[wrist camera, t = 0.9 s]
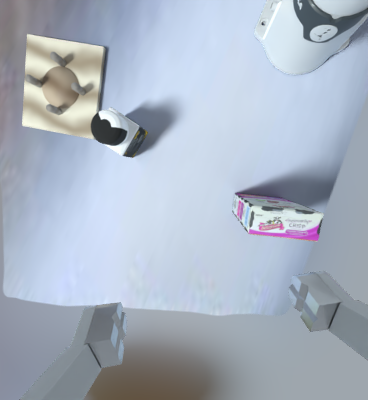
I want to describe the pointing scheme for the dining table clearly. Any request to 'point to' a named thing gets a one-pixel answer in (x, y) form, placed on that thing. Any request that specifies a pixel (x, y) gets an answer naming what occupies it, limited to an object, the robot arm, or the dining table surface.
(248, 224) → the candy bar box
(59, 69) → the stub cradle
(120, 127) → the medicine bottle
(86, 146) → the dining table surface
